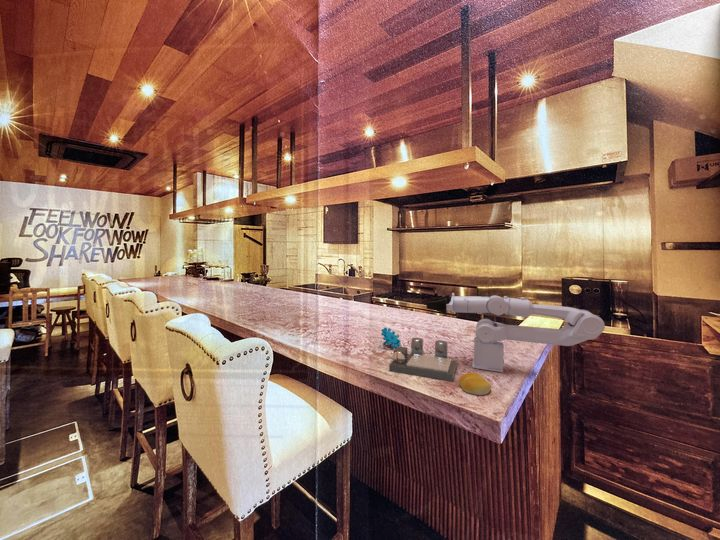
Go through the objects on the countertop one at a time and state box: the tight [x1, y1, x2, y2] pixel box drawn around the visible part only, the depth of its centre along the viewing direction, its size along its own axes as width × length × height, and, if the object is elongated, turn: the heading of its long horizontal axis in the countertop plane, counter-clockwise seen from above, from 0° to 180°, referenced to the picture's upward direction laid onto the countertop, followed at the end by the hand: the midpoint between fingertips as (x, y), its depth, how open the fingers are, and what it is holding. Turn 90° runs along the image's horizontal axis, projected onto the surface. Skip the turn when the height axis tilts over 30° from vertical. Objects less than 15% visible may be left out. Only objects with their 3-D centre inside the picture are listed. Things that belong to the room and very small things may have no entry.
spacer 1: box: [410, 337, 424, 355], centre depth 111 cm, size 4×4×6 cm
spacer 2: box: [434, 339, 448, 358], centre depth 108 cm, size 4×4×6 cm
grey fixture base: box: [388, 346, 458, 382], centre depth 97 cm, size 20×13×6 cm, turn 67°
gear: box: [380, 327, 401, 349], centre depth 122 cm, size 11×6×10 cm
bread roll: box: [458, 372, 492, 396], centre depth 83 cm, size 8×9×4 cm
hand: (428, 303), depth 107 cm, fingers open, 7 cm apart
